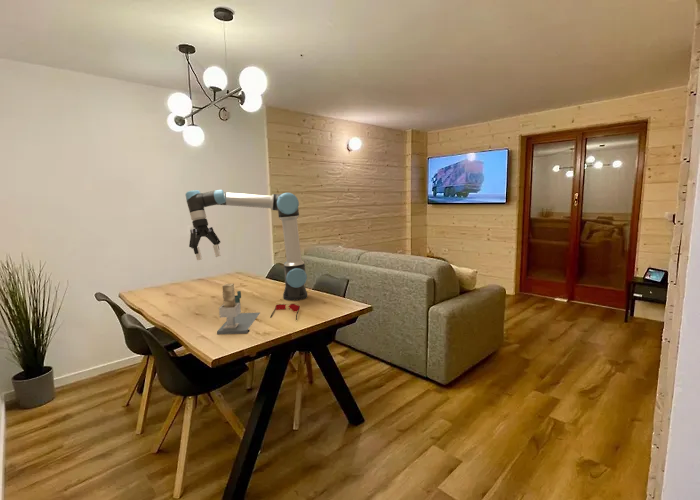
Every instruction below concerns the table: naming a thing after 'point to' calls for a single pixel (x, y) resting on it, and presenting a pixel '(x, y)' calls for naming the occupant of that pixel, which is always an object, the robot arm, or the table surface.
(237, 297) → the bracket
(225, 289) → the light brown tall block
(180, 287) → the table surface
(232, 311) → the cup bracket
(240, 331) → the board
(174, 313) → the table surface
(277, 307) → the glasses
